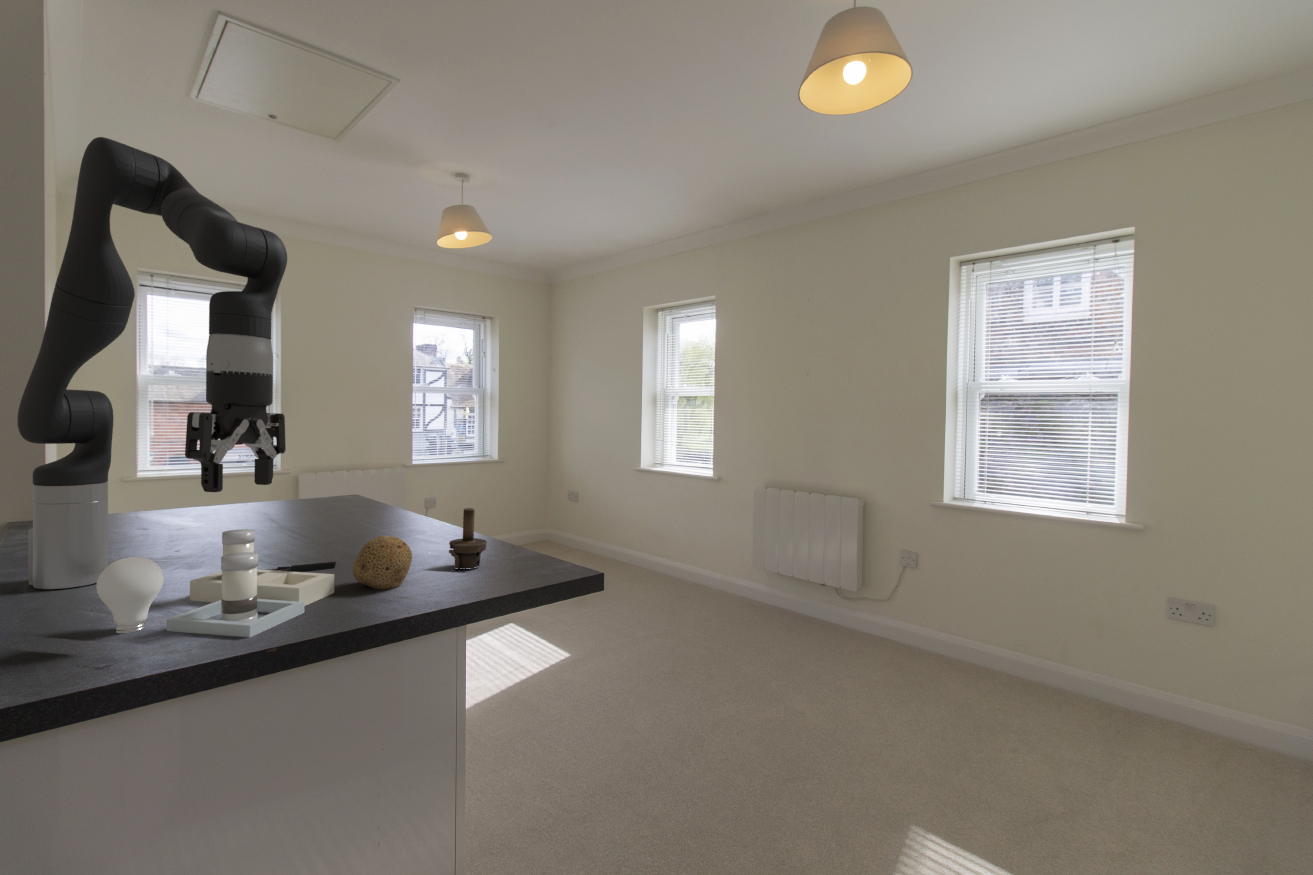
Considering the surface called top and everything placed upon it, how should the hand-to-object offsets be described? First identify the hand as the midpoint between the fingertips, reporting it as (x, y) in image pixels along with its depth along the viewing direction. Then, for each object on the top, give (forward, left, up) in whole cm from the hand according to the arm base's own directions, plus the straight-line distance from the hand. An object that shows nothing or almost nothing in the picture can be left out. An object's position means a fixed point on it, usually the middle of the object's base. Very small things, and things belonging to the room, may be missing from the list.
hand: (239, 487), depth 82 cm
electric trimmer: (-12, +24, -21) cm, 33 cm away
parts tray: (0, 0, -20) cm, 20 cm away
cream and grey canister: (0, 0, -19) cm, 19 cm away
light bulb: (-11, -6, -20) cm, 23 cm away
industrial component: (+16, +40, -20) cm, 48 cm away
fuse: (-9, +10, -19) cm, 23 cm away
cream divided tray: (-5, +10, -20) cm, 23 cm away
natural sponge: (+9, +20, -20) cm, 30 cm away
